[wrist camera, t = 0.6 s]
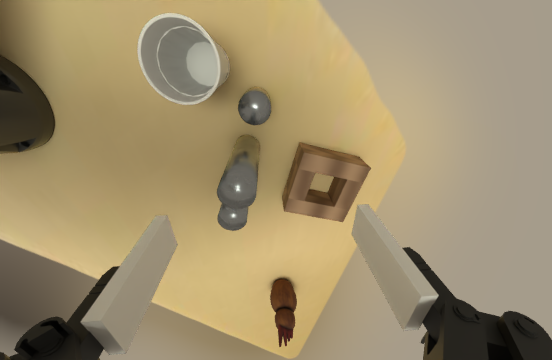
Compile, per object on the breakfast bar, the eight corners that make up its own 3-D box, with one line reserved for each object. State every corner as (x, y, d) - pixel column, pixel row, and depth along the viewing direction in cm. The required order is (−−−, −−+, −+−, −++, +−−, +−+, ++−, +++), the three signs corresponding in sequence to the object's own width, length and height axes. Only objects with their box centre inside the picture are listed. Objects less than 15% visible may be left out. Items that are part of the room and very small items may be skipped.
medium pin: (227, 191, 42) (215, 227, 32) (230, 172, 40) (219, 205, 30) (248, 195, 43) (243, 232, 33) (253, 176, 41) (249, 210, 31)
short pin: (241, 111, 35) (235, 120, 29) (245, 83, 33) (241, 87, 27) (266, 118, 35) (266, 128, 29) (272, 91, 33) (274, 96, 27)
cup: (243, 84, 33) (232, 91, 22) (197, 100, 34) (165, 114, 23) (222, 24, 29) (197, -1, 18) (171, 44, 30) (119, 30, 19)
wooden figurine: (266, 281, 56) (266, 347, 43) (284, 272, 54) (290, 337, 41) (280, 293, 59) (284, 359, 45) (297, 285, 57) (307, 350, 44)
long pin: (233, 155, 38) (214, 205, 24) (237, 132, 36) (219, 172, 22) (256, 160, 39) (251, 212, 25) (262, 138, 37) (259, 180, 23)
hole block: (282, 196, 43) (284, 211, 39) (299, 142, 38) (304, 152, 33) (335, 207, 45) (342, 222, 41) (359, 156, 40) (370, 167, 35)
